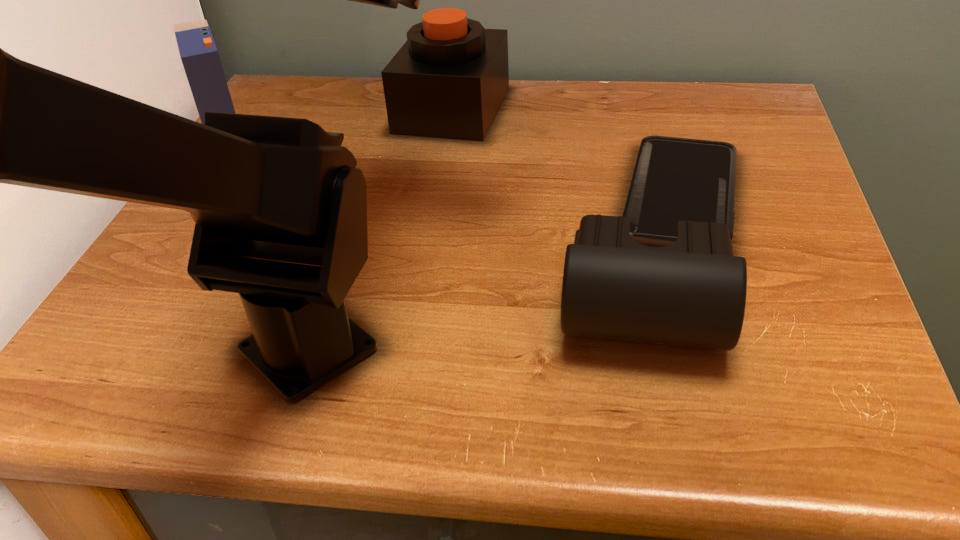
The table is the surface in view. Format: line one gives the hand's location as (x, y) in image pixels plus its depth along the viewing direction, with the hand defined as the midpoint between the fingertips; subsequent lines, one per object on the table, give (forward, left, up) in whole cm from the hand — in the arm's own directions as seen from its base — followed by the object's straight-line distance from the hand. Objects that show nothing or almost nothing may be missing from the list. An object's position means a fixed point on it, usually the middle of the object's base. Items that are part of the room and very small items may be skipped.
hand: (406, 2), depth 56 cm
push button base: (+5, -8, -14) cm, 16 cm away
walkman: (+12, +12, -14) cm, 22 cm away
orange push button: (+5, -8, -6) cm, 11 cm away
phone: (-20, -10, -14) cm, 26 cm away
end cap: (-27, +4, -14) cm, 31 cm away
